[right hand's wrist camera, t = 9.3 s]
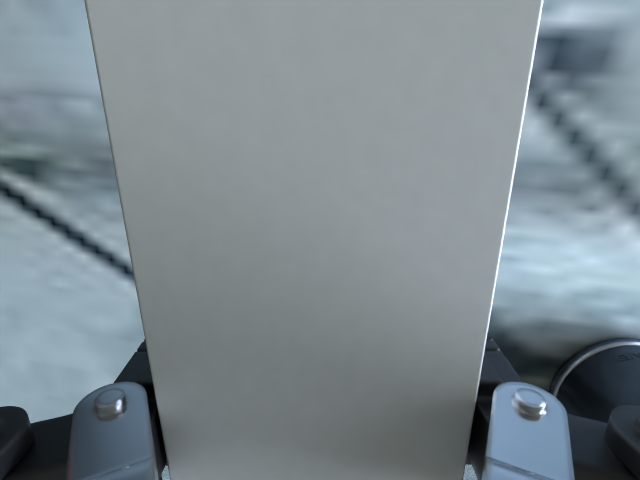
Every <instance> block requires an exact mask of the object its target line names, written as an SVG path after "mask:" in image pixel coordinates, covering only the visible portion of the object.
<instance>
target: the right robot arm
mask: <svg viewBox="0 0 640 480" xmlns="http://www.w3.org/2000/svg"><path fill="white" fill-rule="evenodd" d="M466 464H472V466H473V469H474V471H475V473H476V476H477V478H478V480H640V340H639V339H631V338H621V339H613V340H608V341H604V342H601V343H598V344H595V345H593V346H591V347H588V348H586V349H585V350H583V351H581V352H580V353H578V354H577V355H575V356H574V357H573V358H571V359H570V360H569V361H568V362H567V363H566V364H565V365H564V366H563V367H562V368H561V370H560V371H559V372H558V374H557V375H556V377H555V379H554V381H553V383H552V386H551V390H550V393H549V392H547V391H545V390H543V389H542V388H539V387H537V386H534V385H531V384H527V383H524V382H523V381H522V380H521V378H520V377H519V375H518V374H517V372H516V371H515V370H514V368H513V367H512V365H511V364H510V362H509V361H508V360H507V358H506V357H505V355H504V354H503V352H502V351H500V348H499V347H498V345H497V344H496V342H495V341H493V338H492V337H491V335H490V334H489V332H488V333H487V339H486V345H485V351H484V356H483V362H482V368H481V374H480V380H479V386H478V392H477V398H476V404H475V410H474V416H473V422H472V428H471V434H470V440H469V446H468V452H467V458H466ZM165 465H168V463H167V457H166V452H165V446H164V441H163V435H162V430H161V424H160V418H159V413H158V407H157V402H156V396H155V391H154V385H153V379H152V374H151V368H150V363H149V357H148V352H147V346H146V340H145V339H144V342H142V344H141V345H140V346H139V348H138V349H137V352H135V354H134V355H133V356H132V358H131V359H130V361H129V362H128V363H127V365H126V366H125V368H124V369H123V370H122V372H121V373H120V375H119V376H118V378H117V379H116V380H115V382H114V383H113V384H109V385H106V386H103V387H101V388H98V389H97V390H95V391H93V392H91V393H90V394H88V395H87V396H86V397H84V398H83V399H82V400H81V401H80V402H79V403H78V405H77V406H76V408H75V410H74V412H73V413H72V414H70V415H66V416H62V417H58V418H53V419H49V420H44V421H40V422H35V423H31V424H30V421H29V417H28V414H27V412H26V411H25V410H24V409H22V408H20V407H15V406H5V407H0V480H162V475H161V474H162V472H163V469H164V467H165Z"/></svg>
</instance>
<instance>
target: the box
mask: <svg viewBox="0 0 640 480" xmlns="http://www.w3.org/2000/svg"><path fill="white" fill-rule="evenodd" d="M84 1H85V6H86V12H87V17H88V23H89V28H90V34H91V40H92V45H93V51H94V56H95V62H96V67H97V73H98V79H99V84H100V90H101V95H102V101H103V106H104V112H105V118H106V123H107V129H108V134H109V140H110V145H111V151H112V157H113V162H114V168H115V173H116V179H117V184H118V190H119V196H120V201H121V207H122V212H123V218H124V223H125V229H126V235H127V240H128V246H129V251H130V257H131V262H132V268H133V274H134V279H135V285H136V290H137V296H138V301H139V307H140V313H141V318H142V324H143V329H144V335H145V340H146V346H147V352H148V357H149V363H150V368H151V374H152V379H153V385H154V391H155V396H156V402H157V407H158V413H159V418H160V424H161V430H162V435H163V441H164V446H165V452H166V457H167V463H168V469H169V474H170V480H463V476H464V470H465V464H466V458H467V452H468V446H469V440H470V434H471V428H472V422H473V416H474V410H475V404H476V398H477V392H478V386H479V380H480V374H481V368H482V362H483V356H484V351H485V345H486V339H487V333H488V327H489V321H490V315H491V309H492V303H493V297H494V291H495V285H496V279H497V273H498V267H499V261H500V255H501V249H502V243H503V237H504V231H505V225H506V219H507V214H508V208H509V202H510V196H511V190H512V184H513V178H514V172H515V166H516V160H517V154H518V148H519V142H520V136H521V130H522V124H523V118H524V112H525V106H526V100H527V94H528V88H529V82H530V76H531V71H532V65H533V59H534V53H535V47H536V41H537V35H538V29H539V23H540V17H541V11H542V5H543V0H84Z"/></svg>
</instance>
